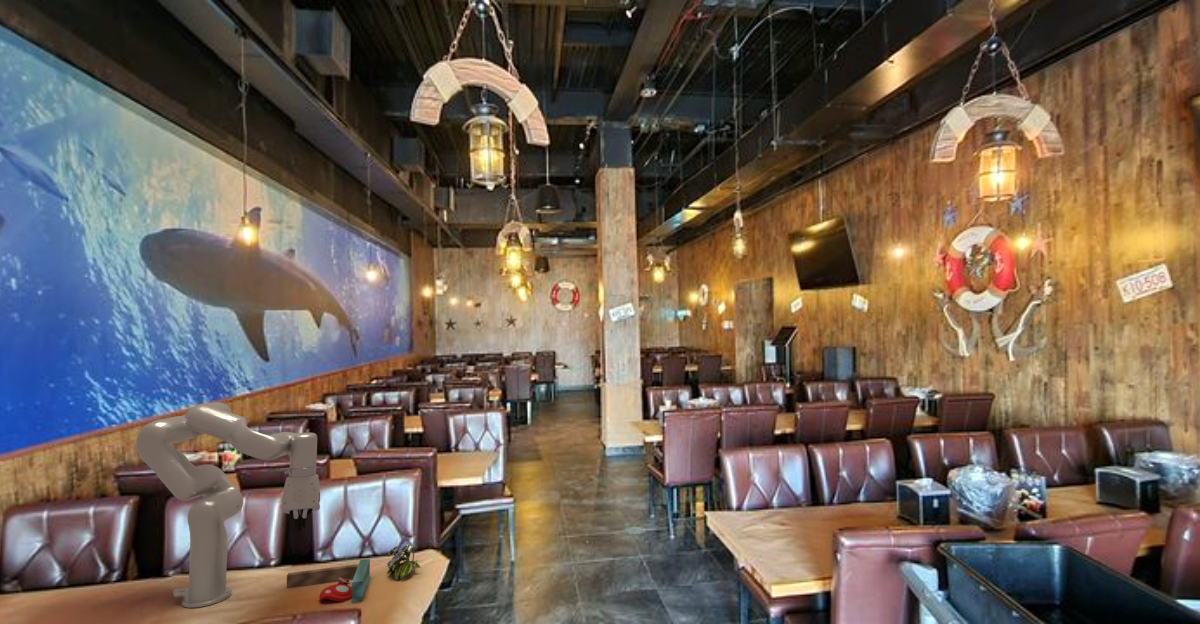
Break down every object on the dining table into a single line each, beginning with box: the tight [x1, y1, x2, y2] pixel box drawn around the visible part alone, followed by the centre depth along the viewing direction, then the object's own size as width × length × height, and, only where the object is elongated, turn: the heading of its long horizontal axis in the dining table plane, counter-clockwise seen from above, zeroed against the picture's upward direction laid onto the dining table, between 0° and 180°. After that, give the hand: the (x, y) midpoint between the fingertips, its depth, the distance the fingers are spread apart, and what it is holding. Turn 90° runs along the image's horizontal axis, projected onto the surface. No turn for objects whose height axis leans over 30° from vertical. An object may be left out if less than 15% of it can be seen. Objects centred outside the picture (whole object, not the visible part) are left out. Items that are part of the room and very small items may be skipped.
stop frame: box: [286, 558, 371, 604], centre depth 169 cm, size 25×21×6 cm
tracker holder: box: [318, 578, 352, 603], centre depth 167 cm, size 12×4×10 cm
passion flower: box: [386, 543, 421, 582], centre depth 183 cm, size 11×11×12 cm
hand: (300, 530), depth 171 cm, fingers closed
